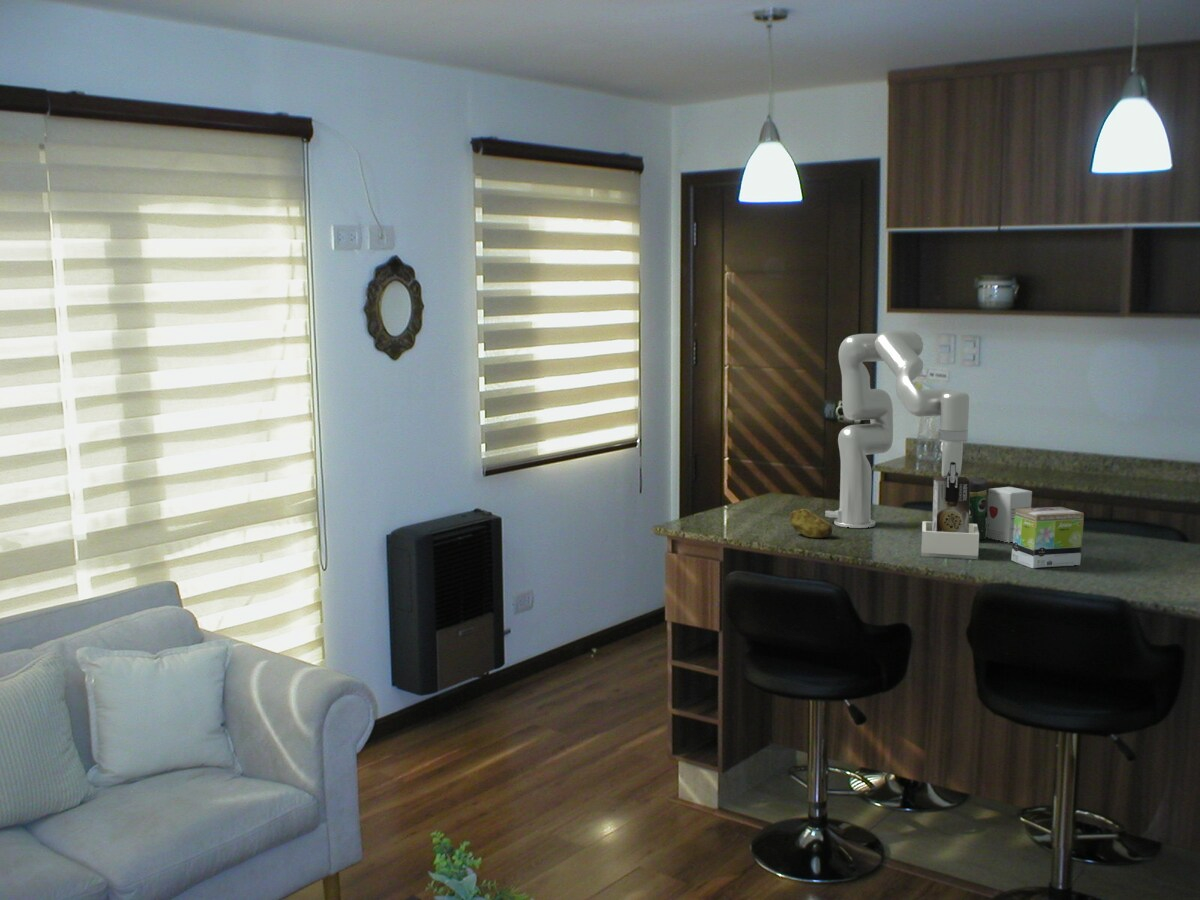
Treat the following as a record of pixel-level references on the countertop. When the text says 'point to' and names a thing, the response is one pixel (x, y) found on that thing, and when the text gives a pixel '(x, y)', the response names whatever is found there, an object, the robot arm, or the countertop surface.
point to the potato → (809, 524)
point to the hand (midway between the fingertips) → (951, 498)
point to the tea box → (1047, 537)
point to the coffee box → (951, 507)
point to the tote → (950, 543)
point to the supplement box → (1005, 511)
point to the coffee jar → (978, 504)
